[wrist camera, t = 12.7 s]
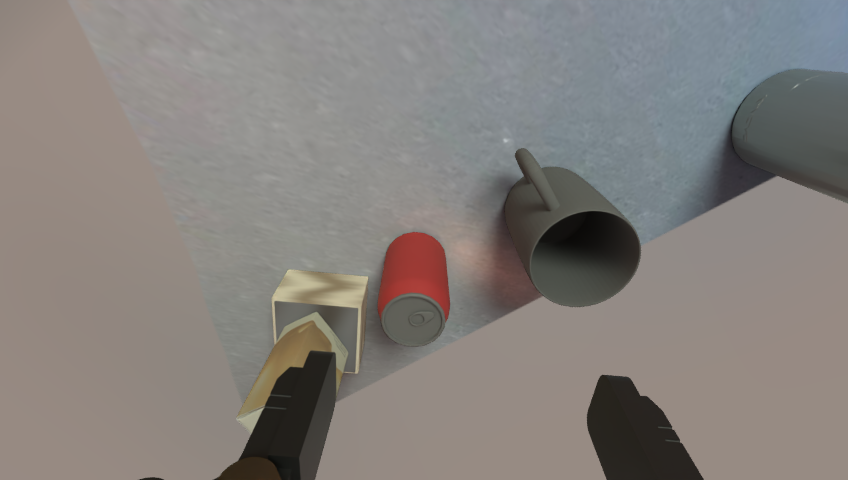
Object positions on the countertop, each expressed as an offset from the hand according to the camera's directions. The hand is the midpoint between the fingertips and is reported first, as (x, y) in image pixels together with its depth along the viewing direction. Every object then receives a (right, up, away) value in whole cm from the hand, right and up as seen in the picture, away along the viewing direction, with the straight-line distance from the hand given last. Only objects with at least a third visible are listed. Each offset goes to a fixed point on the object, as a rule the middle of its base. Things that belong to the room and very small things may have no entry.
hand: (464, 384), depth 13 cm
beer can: (-2, +3, +35) cm, 35 cm away
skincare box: (-13, -6, +32) cm, 35 cm away
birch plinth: (-12, -3, +37) cm, 40 cm away
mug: (+10, +10, +31) cm, 34 cm away
